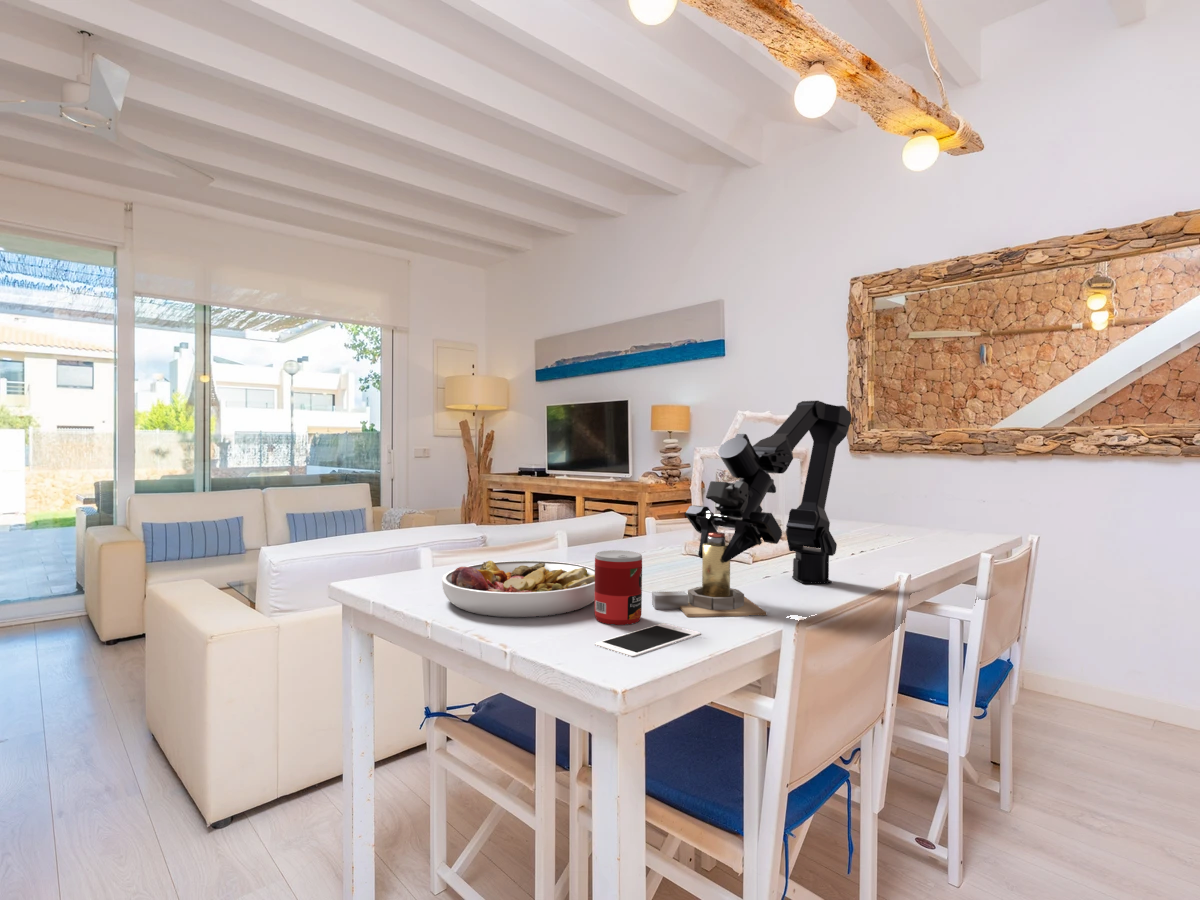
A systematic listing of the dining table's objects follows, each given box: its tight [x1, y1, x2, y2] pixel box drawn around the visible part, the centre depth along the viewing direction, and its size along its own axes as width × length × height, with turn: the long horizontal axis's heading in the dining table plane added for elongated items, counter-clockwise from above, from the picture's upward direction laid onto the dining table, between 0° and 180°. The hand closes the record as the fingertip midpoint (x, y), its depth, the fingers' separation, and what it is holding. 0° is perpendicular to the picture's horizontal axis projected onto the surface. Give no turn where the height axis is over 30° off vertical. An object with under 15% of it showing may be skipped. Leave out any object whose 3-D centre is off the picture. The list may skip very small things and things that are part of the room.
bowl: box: [441, 560, 595, 618], centre depth 122 cm, size 30×30×8 cm
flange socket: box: [651, 586, 767, 618], centre depth 118 cm, size 18×14×2 cm
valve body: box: [701, 531, 731, 597], centre depth 118 cm, size 5×5×11 cm
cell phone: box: [594, 622, 702, 657], centre depth 98 cm, size 8×16×1 cm, turn 135°
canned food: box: [594, 549, 643, 626], centre depth 109 cm, size 8×8×11 cm
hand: (711, 558), depth 118 cm, fingers closed on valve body, 5 cm apart
